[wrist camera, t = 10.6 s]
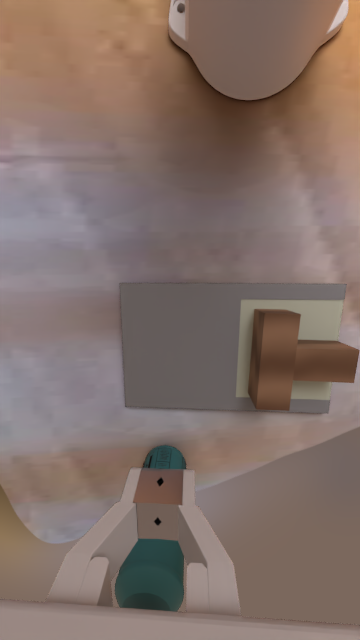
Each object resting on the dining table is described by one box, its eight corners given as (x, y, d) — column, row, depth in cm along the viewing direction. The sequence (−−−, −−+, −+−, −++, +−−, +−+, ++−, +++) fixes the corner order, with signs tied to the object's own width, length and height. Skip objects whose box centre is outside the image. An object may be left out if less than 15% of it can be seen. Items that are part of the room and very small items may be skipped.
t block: (254, 308, 28) (264, 313, 24) (340, 310, 28) (365, 315, 24) (247, 392, 31) (256, 409, 27) (327, 396, 30) (348, 413, 26)
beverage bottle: (153, 431, 34) (101, 641, 14) (193, 444, 34) (197, 673, 14) (141, 464, 35) (78, 701, 15) (180, 477, 35) (166, 729, 15)
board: (122, 282, 30) (119, 283, 29) (340, 283, 28) (346, 284, 27) (127, 402, 33) (125, 406, 32) (323, 408, 32) (328, 413, 30)
